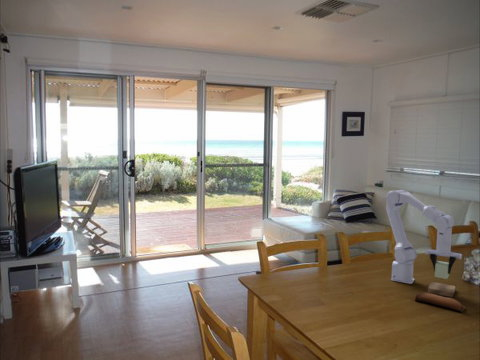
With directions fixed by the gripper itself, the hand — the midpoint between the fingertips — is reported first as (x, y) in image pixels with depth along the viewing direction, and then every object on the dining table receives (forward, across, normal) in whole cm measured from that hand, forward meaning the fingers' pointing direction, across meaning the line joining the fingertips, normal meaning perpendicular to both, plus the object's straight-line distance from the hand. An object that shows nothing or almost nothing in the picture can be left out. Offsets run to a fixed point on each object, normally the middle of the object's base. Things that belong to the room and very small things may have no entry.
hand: (442, 272), depth 185 cm
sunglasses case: (+10, +2, -16) cm, 19 cm away
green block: (+2, 0, 0) cm, 2 cm away
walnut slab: (+9, 0, 0) cm, 9 cm away
